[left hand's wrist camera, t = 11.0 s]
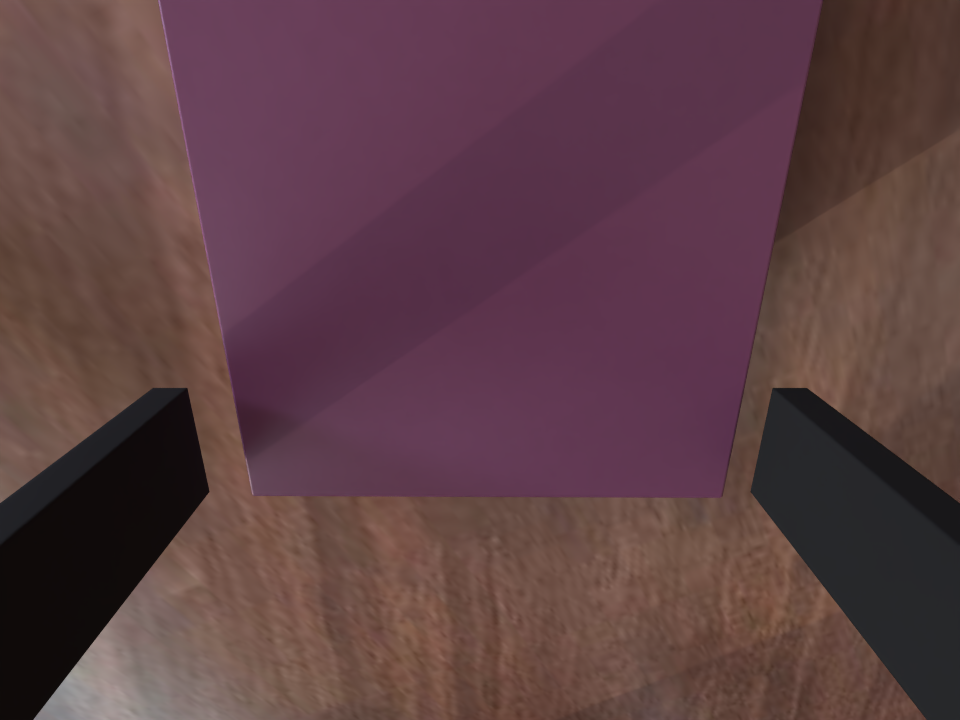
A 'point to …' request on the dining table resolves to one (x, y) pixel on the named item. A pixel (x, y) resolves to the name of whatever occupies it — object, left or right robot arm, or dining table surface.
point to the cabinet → (489, 234)
